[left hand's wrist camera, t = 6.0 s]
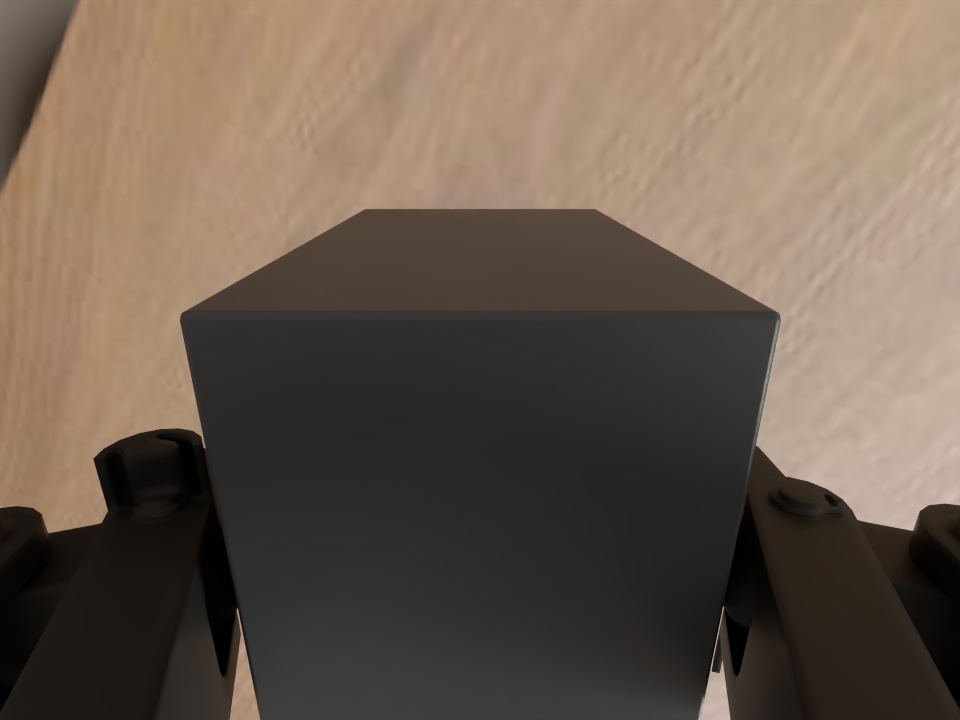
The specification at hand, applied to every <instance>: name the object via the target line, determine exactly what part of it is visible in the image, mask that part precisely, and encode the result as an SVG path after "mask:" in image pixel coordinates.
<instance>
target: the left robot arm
mask: <svg viewBox="0 0 960 720" xmlns="http://www.w3.org/2000/svg"><path fill="white" fill-rule="evenodd" d="M94 463H95V466H96V470H97V473H98V477H99V480H100V484H101V487H102V491H103V494H104V498H105V501H106V505H107V508H108V512H107V514H106V516H105V518H104V520H103V522H102V523H100V524H96V525H91V526H86V527H80V528H75V529H70V530H64V531H59V532H54V533H48V532H47V529H46V526H45V523H44V520H43V517H42V514H41V513H39V512H38V511H36V510H35V509H33V508H28V507H19V506H15V507H7V508H0V720H230V712H231V704H232V697H233V689H234V682H235V674H236V666H237V659H238V651H239V644H240V636H241V633H240V626H239V620H238V615H237V608H238V606H237V601H236V596H235V591H234V586H233V581H232V576H231V571H230V566H229V561H228V556H227V551H226V546H225V541H224V536H223V531H222V526H221V521H220V516H219V511H218V506H217V501H216V497H215V492H214V487H213V482H212V477H211V472H210V467H209V462H208V457H207V452H206V448H203V443H202V438H201V436H200V435H198V434H197V433H195V432H194V431H190V430H184V429H159V430H154V431H149V432H143V433H139V434H136V435H133V436H130V437H127V438H124V439H122V440H119V441H117V442H116V443H114V444H112V445H110V446H108V447H106V448H104V449H103V450H102V451H101V452H100V453H99V454H98V455H97V456H96V457H95V458H94ZM723 606H724V610H723V615H722V620H721V625H720V630H719V635H718V640H717V645H716V650H715V655H714V660H713V666H712V672H717V673H720V669H721V664H722V661H723V665H724V673H725V680H726V688H727V695H728V703H729V711H730V718H731V720H960V505H952V504H937V505H929V506H927V507H926V508H924V509H923V510H921V511H920V513H919V516H918V518H917V521H916V524H915V527H914V530H913V531H910V530H905V529H899V528H894V527H889V526H883V525H878V524H872V523H867V522H863V521H859V520H857V519H856V517H855V515H854V513H853V511H852V510H851V509H850V507H849V506H848V505H847V504H846V503H845V502H844V501H843V499H841V498H840V497H838V496H837V495H835V494H834V493H832V492H830V491H829V490H827V489H825V488H823V487H820V486H818V485H815V484H813V483H810V482H808V481H803V480H799V479H795V478H790V477H785V476H784V475H783V474H782V472H781V471H780V470H779V469H778V468H777V467H776V466H775V465H774V464H773V463H772V462H771V460H770V459H769V458H768V457H767V456H766V455H765V454H764V453H763V452H762V451H761V450H760V448H759V447H758V446H755V451H754V455H753V460H752V465H751V470H750V475H749V480H748V485H747V490H746V495H745V500H744V505H743V510H742V515H741V520H740V525H739V530H738V535H737V540H736V545H735V550H734V555H733V559H732V564H731V569H730V574H729V579H728V584H727V589H726V594H725V599H724V604H723Z"/></svg>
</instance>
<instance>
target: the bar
mask: <svg viewBox="0 0 960 720" xmlns="http://www.w3.org/2000/svg"><path fill="white" fill-rule="evenodd" d="M780 322H781V320H780V315H779V313H778V312H776V311H774V310H772V309H771V308H769V307H767V306H765V305H764V304H762V303H760V302H758V301H756V300H755V299H753V298H751V297H749V296H748V295H746V294H744V293H742V292H741V291H739V290H737V289H735V288H733V287H732V286H730V285H728V284H726V283H725V282H723V281H721V280H719V279H718V278H716V277H714V276H712V275H710V274H709V273H707V272H705V271H703V270H702V269H700V268H698V267H696V266H695V265H693V264H691V263H689V262H687V261H686V260H684V259H682V258H680V257H679V256H677V255H675V254H673V253H672V252H670V251H668V250H666V249H664V248H663V247H661V246H659V245H657V244H656V243H654V242H652V241H650V240H649V239H647V238H645V237H643V236H642V235H640V234H638V233H636V232H634V231H633V230H631V229H629V228H627V227H626V226H624V225H622V224H620V223H619V222H617V221H615V220H613V219H611V218H610V217H608V216H606V215H604V214H603V213H601V212H599V211H597V210H595V209H365V210H363V211H361V212H359V213H358V214H356V215H354V216H352V217H351V218H349V219H347V220H345V221H344V222H342V223H340V224H338V225H337V226H335V227H333V228H331V229H330V230H328V231H326V232H324V233H322V234H321V235H319V236H317V237H315V238H314V239H312V240H310V241H308V242H307V243H305V244H303V245H301V246H300V247H298V248H296V249H294V250H292V251H291V252H289V253H287V254H285V255H284V256H282V257H280V258H278V259H277V260H275V261H273V262H271V263H270V264H268V265H266V266H264V267H262V268H261V269H259V270H257V271H255V272H254V273H252V274H250V275H248V276H247V277H245V278H243V279H241V280H240V281H238V282H236V283H234V284H232V285H231V286H229V287H227V288H225V289H224V290H222V291H220V292H218V293H217V294H215V295H213V296H211V297H210V298H208V299H206V300H204V301H202V302H201V303H199V304H197V305H195V306H194V307H192V308H190V309H188V310H187V311H185V312H183V313H182V314H181V318H180V323H181V328H182V333H183V337H184V342H185V347H186V352H187V357H188V362H189V367H190V372H191V377H192V382H193V387H194V392H195V397H196V402H197V407H198V412H199V417H200V422H201V427H202V432H203V437H204V442H205V447H206V452H207V457H208V462H209V467H210V472H211V477H212V482H213V487H214V492H215V497H216V501H217V506H218V511H219V516H220V521H221V526H222V531H223V536H224V541H225V546H226V551H227V556H228V561H229V566H230V571H231V576H232V581H233V586H234V591H235V596H236V601H237V606H238V611H239V616H240V621H241V626H242V631H243V636H244V641H245V646H246V651H247V656H248V660H249V665H250V670H251V675H252V680H253V685H254V690H255V695H256V700H257V705H258V710H259V715H260V720H700V718H701V713H702V708H703V703H704V698H705V693H706V688H707V683H708V678H709V673H710V668H711V663H712V658H713V654H714V649H715V644H716V639H717V634H718V629H719V624H720V619H721V614H722V609H723V604H724V599H725V594H726V589H727V584H728V579H729V574H730V569H731V564H732V559H733V555H734V550H735V545H736V540H737V535H738V530H739V525H740V520H741V515H742V510H743V505H744V500H745V495H746V490H747V485H748V480H749V475H750V470H751V465H752V460H753V455H754V451H755V446H756V441H757V436H758V431H759V426H760V421H761V416H762V411H763V406H764V401H765V396H766V391H767V386H768V381H769V376H770V371H771V366H772V361H773V356H774V352H775V347H776V342H777V337H778V332H779V327H780Z"/></svg>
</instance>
